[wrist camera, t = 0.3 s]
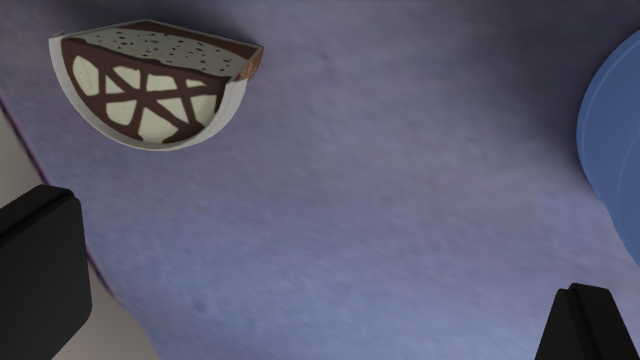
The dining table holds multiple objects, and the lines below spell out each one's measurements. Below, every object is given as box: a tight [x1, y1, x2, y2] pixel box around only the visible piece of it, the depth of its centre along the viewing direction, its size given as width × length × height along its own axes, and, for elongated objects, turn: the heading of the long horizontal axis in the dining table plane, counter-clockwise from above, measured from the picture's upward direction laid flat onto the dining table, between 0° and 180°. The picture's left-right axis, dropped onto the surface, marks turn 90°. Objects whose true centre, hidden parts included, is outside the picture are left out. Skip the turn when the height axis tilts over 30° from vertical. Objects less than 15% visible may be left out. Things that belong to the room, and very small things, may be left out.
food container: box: [48, 18, 264, 151], centre depth 38 cm, size 12×6×10 cm, turn 79°
